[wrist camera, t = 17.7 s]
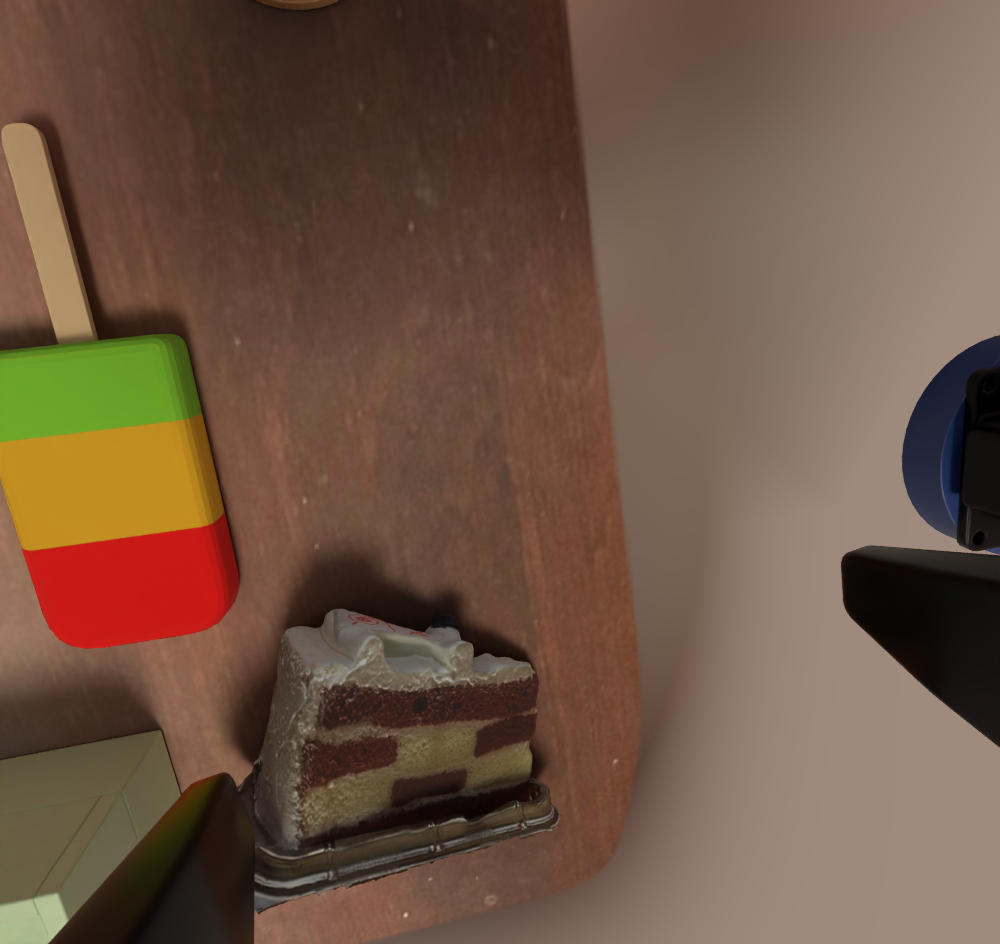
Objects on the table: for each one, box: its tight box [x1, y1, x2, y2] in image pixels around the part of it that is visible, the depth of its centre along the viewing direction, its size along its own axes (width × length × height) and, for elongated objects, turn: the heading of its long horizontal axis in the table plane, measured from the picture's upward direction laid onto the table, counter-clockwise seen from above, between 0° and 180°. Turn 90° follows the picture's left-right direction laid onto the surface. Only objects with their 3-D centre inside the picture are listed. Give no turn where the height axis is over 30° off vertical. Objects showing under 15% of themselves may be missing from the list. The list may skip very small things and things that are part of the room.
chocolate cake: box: [237, 609, 561, 914], centre depth 21 cm, size 10×7×12 cm
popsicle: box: [0, 123, 239, 649], centre depth 18 cm, size 6×15×2 cm, turn 6°
